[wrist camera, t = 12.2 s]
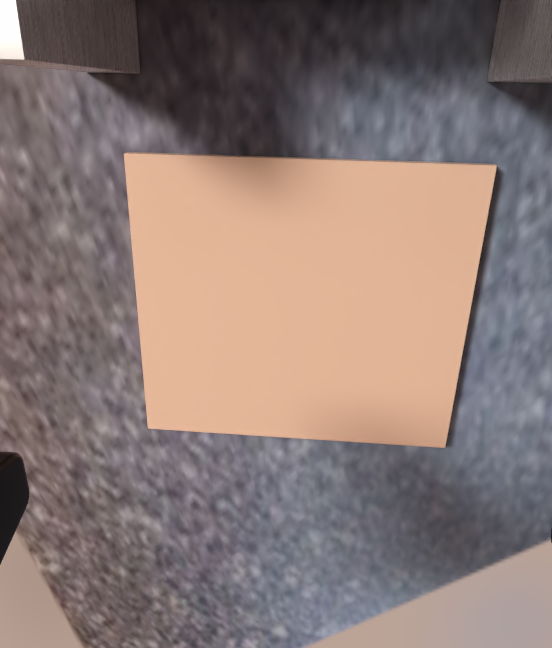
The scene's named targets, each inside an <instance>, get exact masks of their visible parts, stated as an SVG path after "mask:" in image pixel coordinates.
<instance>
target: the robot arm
mask: <svg viewBox="0 0 552 648" xmlns="http://www.w3.org/2000/svg"><path fill="white" fill-rule="evenodd" d="M28 500H29V487H28V482H27V477H26V472H25V468H24V463H23V459H22V457H21V456H20V455H19V454H18V453H14V452H0V564H1V562H2V560H3V557H4V555H5V553H6V551H7V548H8V546H9V544H10V542H11V540H12V537H13V535H14V533H15V531H16V529H17V526H18V524H19V522H20V520H21V518H22V515H23V513H24V511H25V509H26V506H27V504H28ZM551 542H552V529H551Z"/></svg>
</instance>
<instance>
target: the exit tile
mask: <svg viewBox="0 0 552 648" xmlns="http://www.w3.org/2000/svg"><path fill="white" fill-rule="evenodd" d="M124 160H125V172H126V183H127V195H128V206H129V217H130V229H131V240H132V252H133V263H134V274H135V286H136V297H137V308H138V320H139V331H140V343H141V354H142V365H143V377H144V388H145V400H146V411H147V422H148V428H149V429H165V430H180V431H195V432H210V433H226V434H241V435H256V436H272V437H287V438H302V439H317V440H333V441H348V442H363V443H379V444H394V445H409V446H424V447H440V448H445V446H446V441H447V435H448V430H449V424H450V419H451V413H452V408H453V402H454V397H455V391H456V386H457V381H458V375H459V370H460V364H461V359H462V353H463V348H464V342H465V337H466V331H467V326H468V321H469V315H470V310H471V304H472V299H473V293H474V288H475V282H476V277H477V271H478V266H479V261H480V255H481V250H482V244H483V239H484V233H485V228H486V222H487V217H488V211H489V206H490V201H491V195H492V190H493V184H494V179H495V173H496V168H497V165H494V164H485V163H454V162H423V161H393V160H362V159H331V158H300V157H270V156H239V155H208V154H177V153H147V152H127V153H124Z"/></svg>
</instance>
